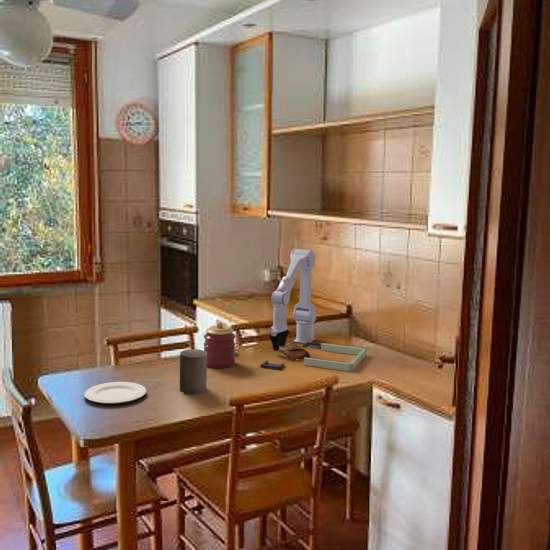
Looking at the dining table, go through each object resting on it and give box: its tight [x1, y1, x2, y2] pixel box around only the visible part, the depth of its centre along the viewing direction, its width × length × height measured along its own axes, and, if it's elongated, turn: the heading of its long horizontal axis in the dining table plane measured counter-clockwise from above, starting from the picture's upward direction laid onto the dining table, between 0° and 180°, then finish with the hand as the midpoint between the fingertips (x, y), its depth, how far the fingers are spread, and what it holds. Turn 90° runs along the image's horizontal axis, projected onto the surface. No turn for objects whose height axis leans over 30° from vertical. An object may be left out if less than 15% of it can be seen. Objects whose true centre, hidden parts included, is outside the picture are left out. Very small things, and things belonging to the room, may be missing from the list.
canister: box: [203, 321, 237, 369], centre depth 247 cm, size 13×13×18 cm
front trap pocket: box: [260, 360, 285, 371], centre depth 247 cm, size 6×8×1 cm
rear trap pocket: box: [302, 341, 322, 350], centre depth 277 cm, size 5×8×1 cm, turn 69°
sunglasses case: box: [278, 340, 311, 361], centre depth 265 cm, size 18×7×7 cm
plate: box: [84, 381, 147, 405], centre depth 210 cm, size 21×21×2 cm
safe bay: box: [303, 342, 367, 373], centre depth 258 cm, size 25×20×3 cm
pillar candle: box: [178, 348, 208, 395], centre depth 217 cm, size 10×10×15 cm
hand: (279, 348), depth 267 cm, fingers open, 7 cm apart
